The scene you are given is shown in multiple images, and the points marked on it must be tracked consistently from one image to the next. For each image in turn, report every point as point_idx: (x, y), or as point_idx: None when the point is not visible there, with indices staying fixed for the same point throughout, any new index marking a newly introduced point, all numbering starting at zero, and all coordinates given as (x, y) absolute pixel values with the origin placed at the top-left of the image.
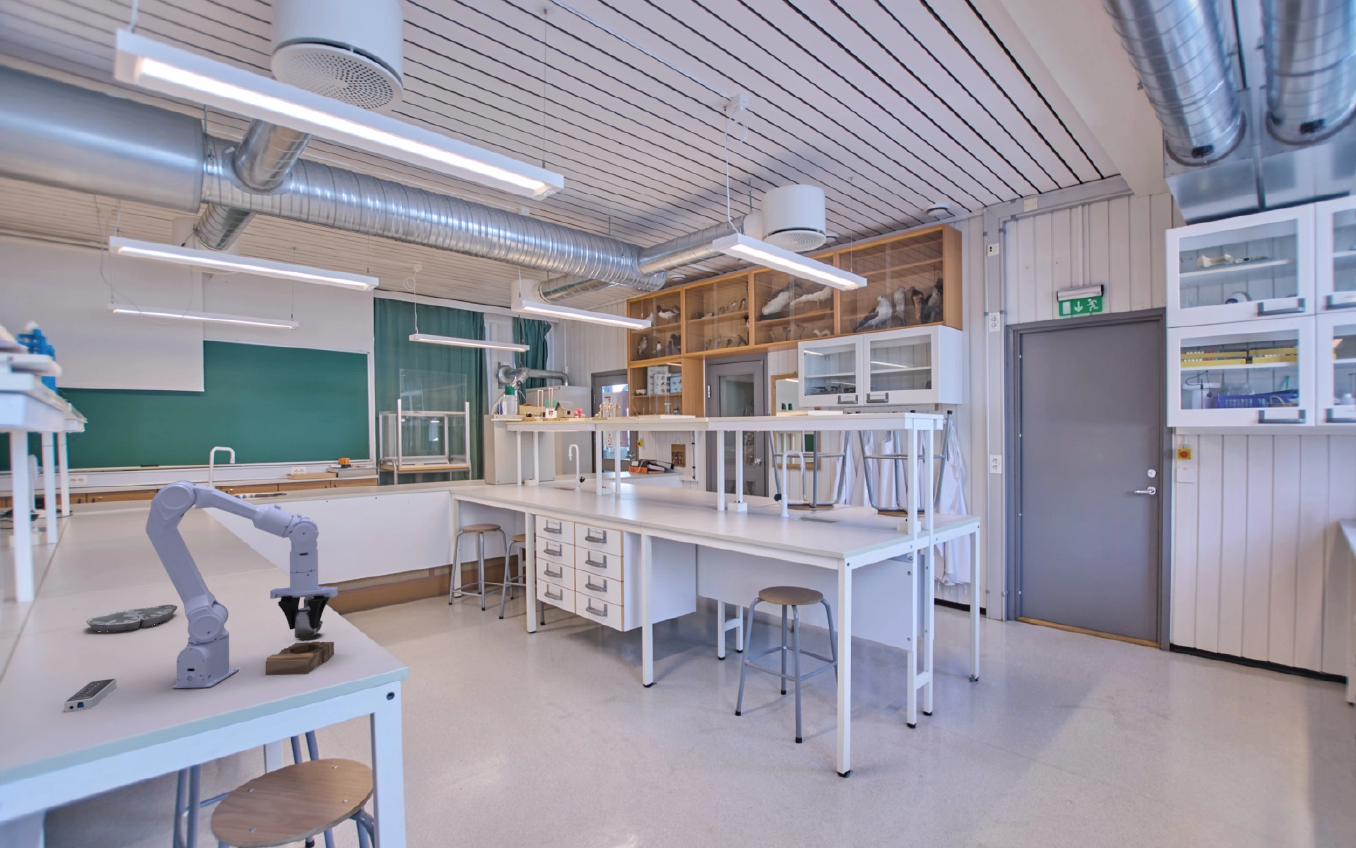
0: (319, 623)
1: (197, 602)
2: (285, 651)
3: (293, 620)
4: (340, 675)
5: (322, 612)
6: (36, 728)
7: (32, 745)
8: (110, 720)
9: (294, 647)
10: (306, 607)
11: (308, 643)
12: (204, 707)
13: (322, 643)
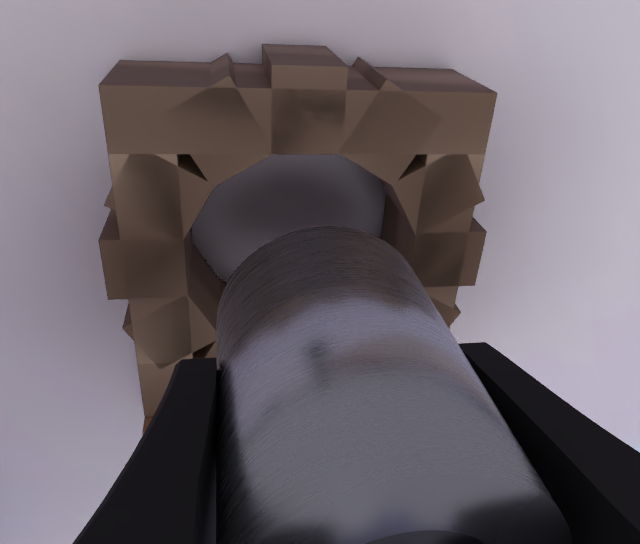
0: (506, 361)
1: None
2: (165, 316)
3: (215, 513)
4: (576, 403)
5: (628, 452)
6: None
7: None
8: None
9: (183, 227)
10: (350, 502)
11: (258, 121)
12: None
13: (403, 134)
